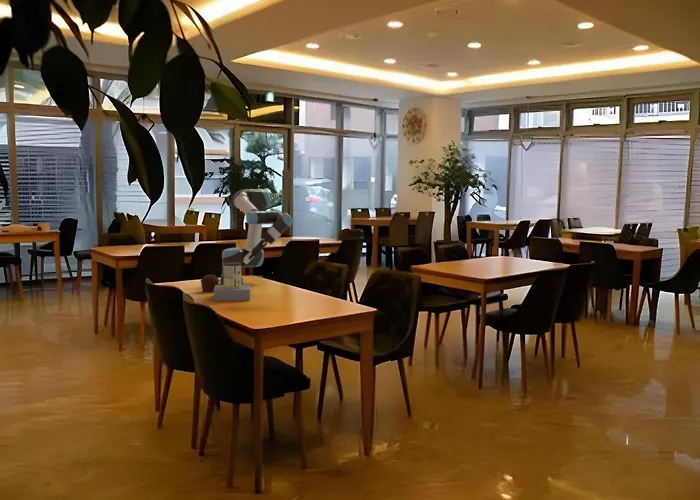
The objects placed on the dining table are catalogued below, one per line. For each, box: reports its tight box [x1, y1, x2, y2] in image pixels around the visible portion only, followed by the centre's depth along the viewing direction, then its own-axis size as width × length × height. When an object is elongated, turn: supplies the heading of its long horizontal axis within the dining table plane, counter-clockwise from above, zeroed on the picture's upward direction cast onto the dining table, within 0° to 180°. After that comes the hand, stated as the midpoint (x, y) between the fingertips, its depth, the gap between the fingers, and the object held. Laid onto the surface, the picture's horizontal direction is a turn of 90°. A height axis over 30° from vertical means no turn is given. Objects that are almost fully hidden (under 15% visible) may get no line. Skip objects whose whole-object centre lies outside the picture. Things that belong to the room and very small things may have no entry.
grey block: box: [213, 284, 251, 302], centre depth 381 cm, size 20×20×6 cm
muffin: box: [200, 274, 220, 293], centre depth 404 cm, size 12×11×10 cm
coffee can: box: [223, 262, 243, 289], centre depth 381 cm, size 10×10×14 cm
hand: (244, 261), depth 380 cm, fingers open, 13 cm apart
